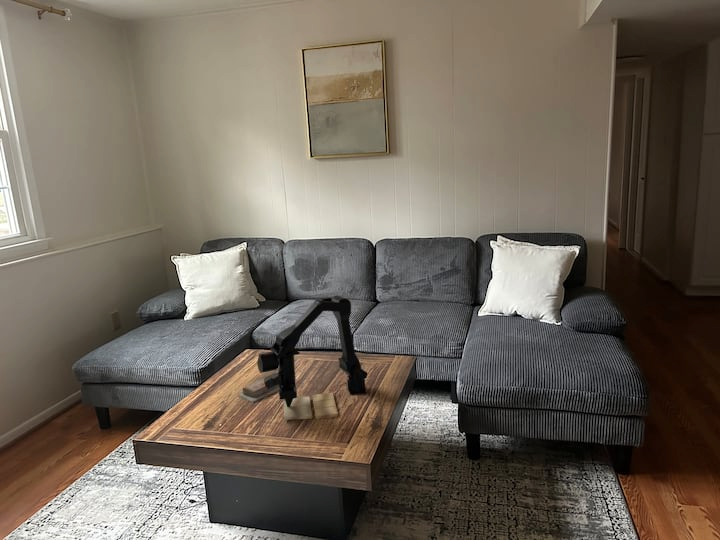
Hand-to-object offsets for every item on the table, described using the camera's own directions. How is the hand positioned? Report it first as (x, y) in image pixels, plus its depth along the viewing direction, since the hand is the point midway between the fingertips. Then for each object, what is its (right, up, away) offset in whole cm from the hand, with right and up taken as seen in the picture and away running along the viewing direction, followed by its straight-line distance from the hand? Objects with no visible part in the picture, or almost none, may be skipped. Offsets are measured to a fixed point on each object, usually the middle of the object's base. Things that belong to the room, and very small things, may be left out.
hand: (288, 406), depth 197 cm
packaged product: (-13, 0, +20) cm, 24 cm away
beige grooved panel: (+3, -1, +1) cm, 4 cm away
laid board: (+13, -1, +2) cm, 14 cm away
